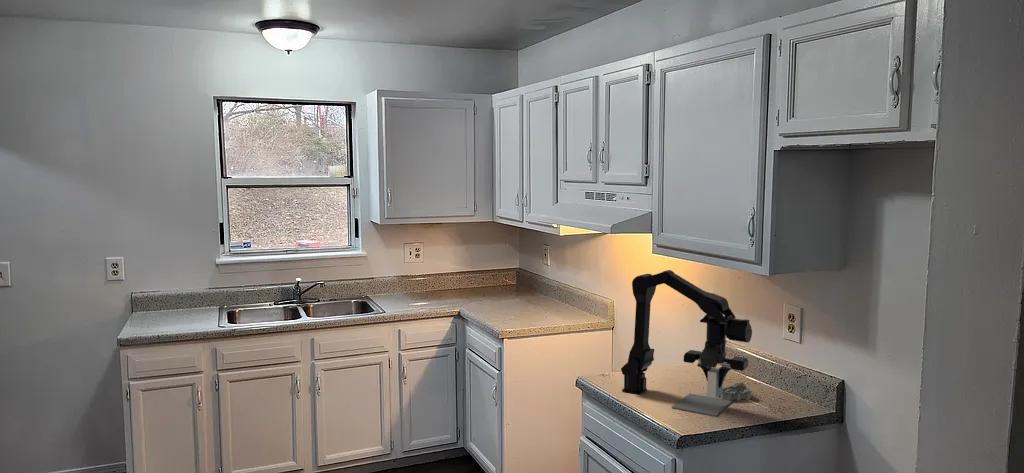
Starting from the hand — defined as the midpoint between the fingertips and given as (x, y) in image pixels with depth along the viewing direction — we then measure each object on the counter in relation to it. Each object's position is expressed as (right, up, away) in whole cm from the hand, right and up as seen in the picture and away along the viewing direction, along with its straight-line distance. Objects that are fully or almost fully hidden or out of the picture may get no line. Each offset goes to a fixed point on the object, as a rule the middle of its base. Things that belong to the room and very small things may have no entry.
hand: (714, 386), depth 221 cm
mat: (-3, -6, +3) cm, 8 cm away
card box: (0, -3, 0) cm, 3 cm away
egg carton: (+9, -6, +10) cm, 15 cm away
